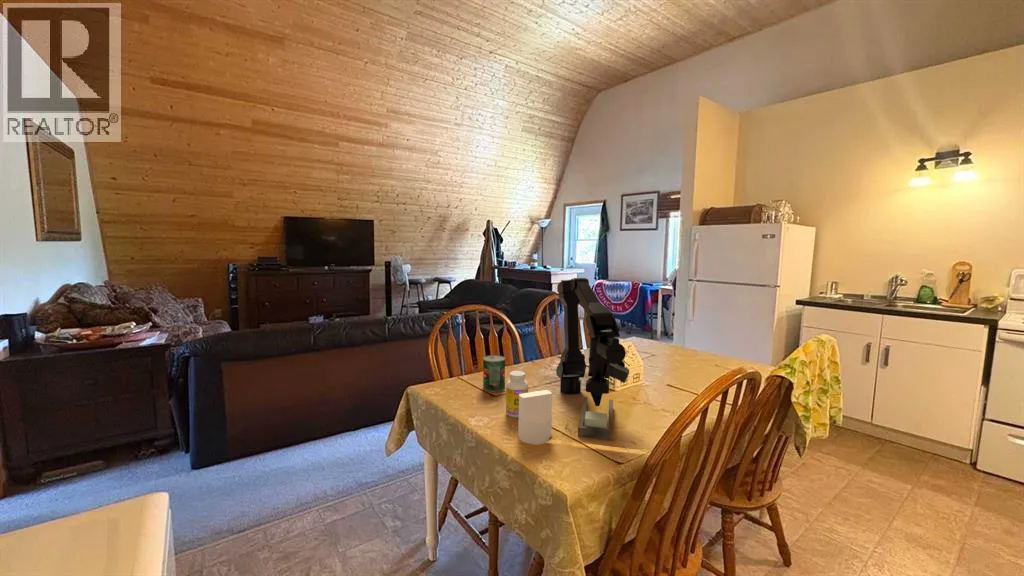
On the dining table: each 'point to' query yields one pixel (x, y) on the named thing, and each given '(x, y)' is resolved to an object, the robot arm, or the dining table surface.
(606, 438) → the chute
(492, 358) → the canned tomato
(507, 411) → the supplement bottle
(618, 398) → the dining table surface
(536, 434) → the cylinder with rectangular tab
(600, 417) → the block
